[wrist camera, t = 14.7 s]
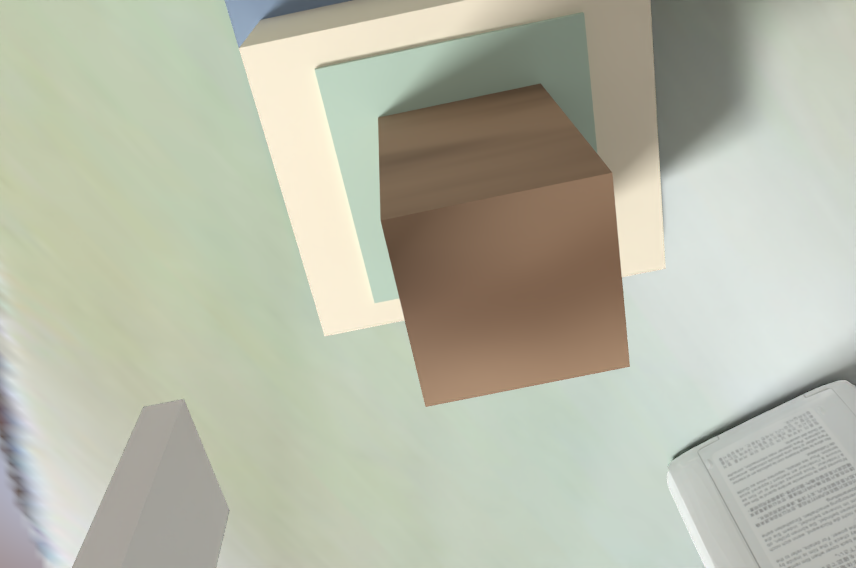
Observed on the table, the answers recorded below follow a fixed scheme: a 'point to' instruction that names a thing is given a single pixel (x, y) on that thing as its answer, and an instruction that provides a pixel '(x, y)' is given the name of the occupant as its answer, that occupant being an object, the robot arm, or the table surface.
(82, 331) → the table surface
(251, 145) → the table surface
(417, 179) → the walnut block
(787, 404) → the photo printer
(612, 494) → the table surface
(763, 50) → the table surface
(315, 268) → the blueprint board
